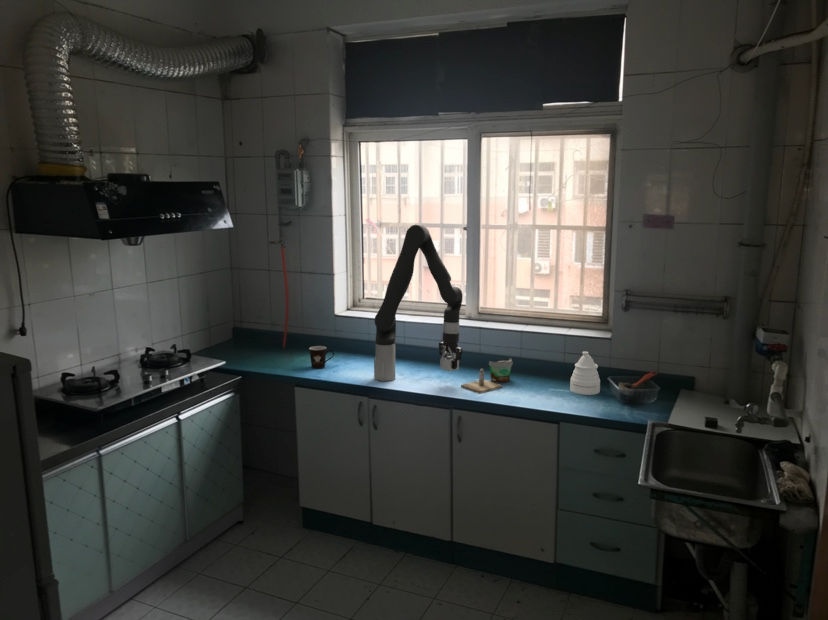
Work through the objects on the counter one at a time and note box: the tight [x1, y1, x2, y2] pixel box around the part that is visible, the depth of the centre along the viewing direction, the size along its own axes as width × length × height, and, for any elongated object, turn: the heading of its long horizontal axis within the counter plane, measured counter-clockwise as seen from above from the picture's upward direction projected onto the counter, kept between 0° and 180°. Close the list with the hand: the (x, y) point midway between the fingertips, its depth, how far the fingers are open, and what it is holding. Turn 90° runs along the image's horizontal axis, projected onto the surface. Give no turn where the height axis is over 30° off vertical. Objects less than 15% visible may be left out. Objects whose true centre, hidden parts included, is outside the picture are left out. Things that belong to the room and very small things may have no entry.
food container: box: [488, 357, 514, 384], centre depth 301 cm, size 12×6×10 cm, turn 117°
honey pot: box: [569, 351, 601, 396], centre depth 287 cm, size 13×13×18 cm
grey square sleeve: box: [439, 355, 460, 372], centre depth 295 cm, size 6×6×5 cm
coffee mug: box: [308, 345, 335, 370], centre depth 324 cm, size 12×9×10 cm
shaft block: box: [460, 368, 503, 394], centre depth 292 cm, size 14×12×8 cm
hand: (449, 366), depth 296 cm, fingers closed on grey square sleeve, 6 cm apart
